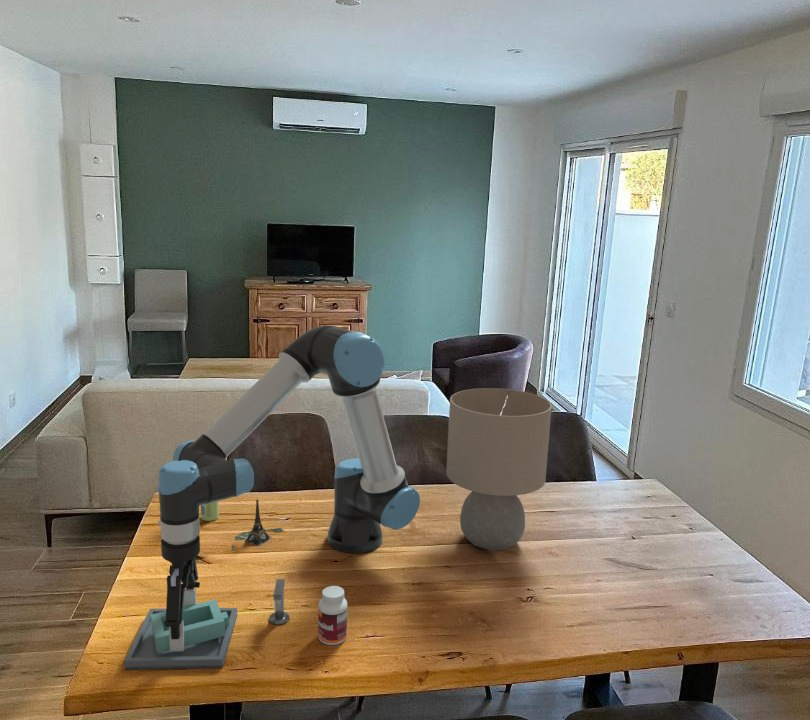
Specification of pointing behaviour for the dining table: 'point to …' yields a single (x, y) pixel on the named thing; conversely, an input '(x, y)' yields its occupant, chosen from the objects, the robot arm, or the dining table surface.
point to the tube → (210, 511)
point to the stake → (279, 604)
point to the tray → (190, 658)
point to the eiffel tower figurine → (256, 532)
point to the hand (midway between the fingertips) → (183, 632)
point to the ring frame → (192, 625)
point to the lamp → (497, 460)
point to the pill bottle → (332, 616)
